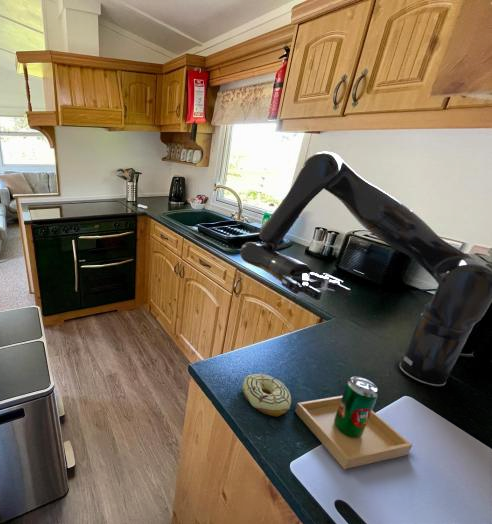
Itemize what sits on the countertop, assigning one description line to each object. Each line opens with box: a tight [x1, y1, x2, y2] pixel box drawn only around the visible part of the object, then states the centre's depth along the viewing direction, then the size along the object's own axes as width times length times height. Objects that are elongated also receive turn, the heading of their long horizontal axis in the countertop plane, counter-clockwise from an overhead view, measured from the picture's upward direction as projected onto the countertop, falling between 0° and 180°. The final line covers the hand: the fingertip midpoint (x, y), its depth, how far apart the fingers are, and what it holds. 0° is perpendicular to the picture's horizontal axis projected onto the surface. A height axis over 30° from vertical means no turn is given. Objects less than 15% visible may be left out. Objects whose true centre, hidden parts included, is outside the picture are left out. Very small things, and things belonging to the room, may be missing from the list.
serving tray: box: [294, 395, 413, 470], centre depth 61 cm, size 15×13×3 cm
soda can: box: [334, 376, 379, 438], centre depth 59 cm, size 5×5×12 cm
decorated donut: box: [241, 373, 292, 417], centre depth 68 cm, size 10×11×4 cm
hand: (334, 295), depth 69 cm, fingers open, 8 cm apart
